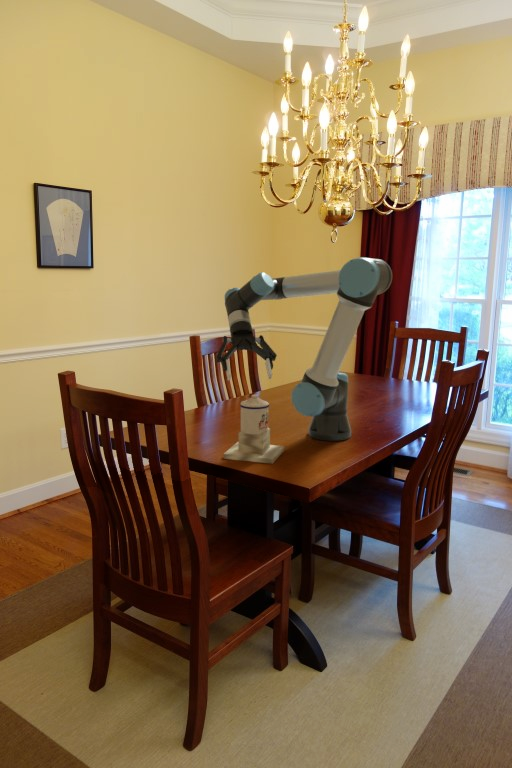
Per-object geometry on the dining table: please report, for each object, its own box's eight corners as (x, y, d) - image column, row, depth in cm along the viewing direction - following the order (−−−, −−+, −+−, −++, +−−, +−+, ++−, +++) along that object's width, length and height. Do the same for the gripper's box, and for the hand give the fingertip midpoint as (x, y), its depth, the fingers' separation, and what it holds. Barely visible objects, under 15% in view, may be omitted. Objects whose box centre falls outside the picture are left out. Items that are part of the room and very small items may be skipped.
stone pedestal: (284, 450, 190) (284, 426, 189) (272, 463, 177) (273, 438, 175) (237, 446, 195) (237, 422, 193) (223, 458, 181) (223, 433, 180)
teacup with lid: (263, 436, 177) (264, 398, 175) (235, 433, 180) (235, 396, 178) (275, 426, 188) (275, 391, 186) (248, 424, 191) (248, 389, 189)
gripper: (273, 333, 206) (284, 382, 194) (203, 334, 200) (210, 385, 188) (277, 319, 200) (289, 369, 188) (205, 320, 194) (213, 371, 182)
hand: (250, 377), depth 188 cm, fingers open, 13 cm apart
